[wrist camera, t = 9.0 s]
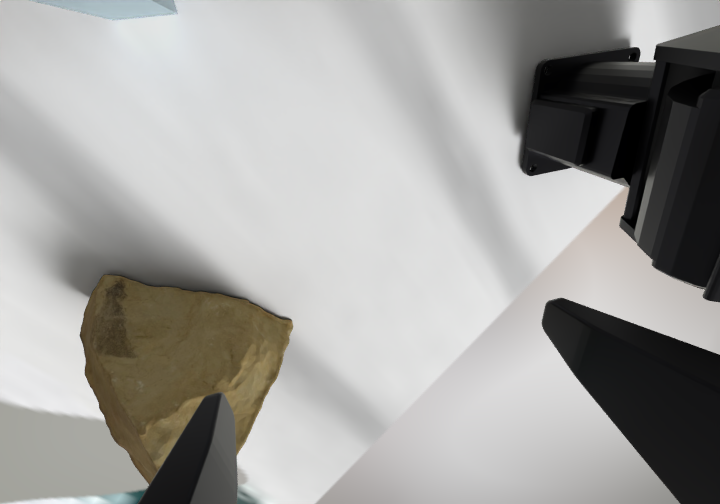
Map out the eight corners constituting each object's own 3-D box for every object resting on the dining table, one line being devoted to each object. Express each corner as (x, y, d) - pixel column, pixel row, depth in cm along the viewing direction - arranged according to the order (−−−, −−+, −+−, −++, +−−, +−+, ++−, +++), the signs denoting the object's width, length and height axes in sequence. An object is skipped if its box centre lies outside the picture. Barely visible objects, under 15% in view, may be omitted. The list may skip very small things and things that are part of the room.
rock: (-1, 339, 17) (144, 452, 21) (-24, 393, 10) (190, 538, 15) (188, 215, 23) (272, 323, 27) (246, 203, 16) (344, 346, 21)
